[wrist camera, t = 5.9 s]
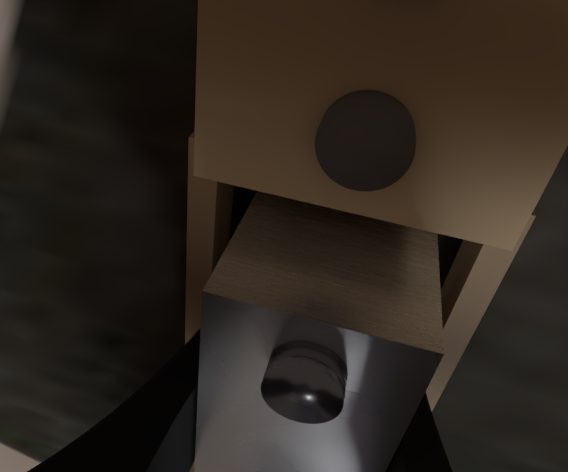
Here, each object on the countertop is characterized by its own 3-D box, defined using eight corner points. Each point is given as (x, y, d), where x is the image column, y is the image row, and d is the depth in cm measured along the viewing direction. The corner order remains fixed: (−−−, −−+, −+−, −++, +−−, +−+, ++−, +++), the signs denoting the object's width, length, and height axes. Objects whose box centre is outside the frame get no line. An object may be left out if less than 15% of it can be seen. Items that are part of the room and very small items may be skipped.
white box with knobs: (360, 397, 16) (338, 586, 12) (246, 366, 17) (183, 537, 12) (435, 197, 12) (446, 385, 7) (274, 160, 12) (188, 316, 8)
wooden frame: (362, 510, 20) (353, 604, 18) (195, 460, 21) (162, 543, 18) (687, -156, 7) (842, -189, 5) (227, -223, 8) (133, -284, 6)
